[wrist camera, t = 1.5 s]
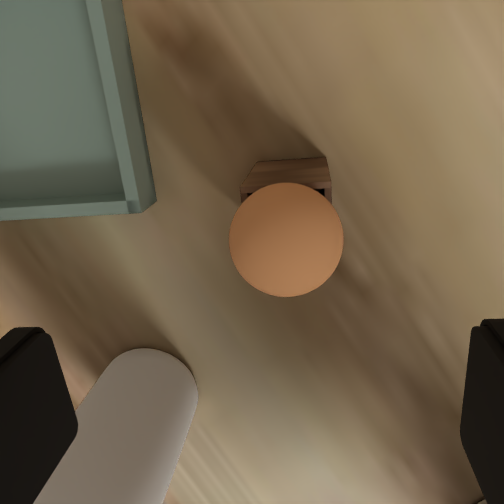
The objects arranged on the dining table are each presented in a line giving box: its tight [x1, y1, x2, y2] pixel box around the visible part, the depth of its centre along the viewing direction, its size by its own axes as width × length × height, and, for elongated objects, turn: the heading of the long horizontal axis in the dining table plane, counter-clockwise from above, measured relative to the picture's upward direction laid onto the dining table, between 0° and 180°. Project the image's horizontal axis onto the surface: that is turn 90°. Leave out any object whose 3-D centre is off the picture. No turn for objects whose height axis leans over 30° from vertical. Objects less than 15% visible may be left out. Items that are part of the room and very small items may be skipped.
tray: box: [0, 0, 157, 221], centre depth 25 cm, size 14×14×3 cm
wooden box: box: [240, 157, 332, 205], centre depth 24 cm, size 4×4×7 cm
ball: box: [229, 183, 344, 297], centre depth 19 cm, size 5×5×5 cm
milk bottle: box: [33, 348, 198, 504], centre depth 25 cm, size 8×8×20 cm
